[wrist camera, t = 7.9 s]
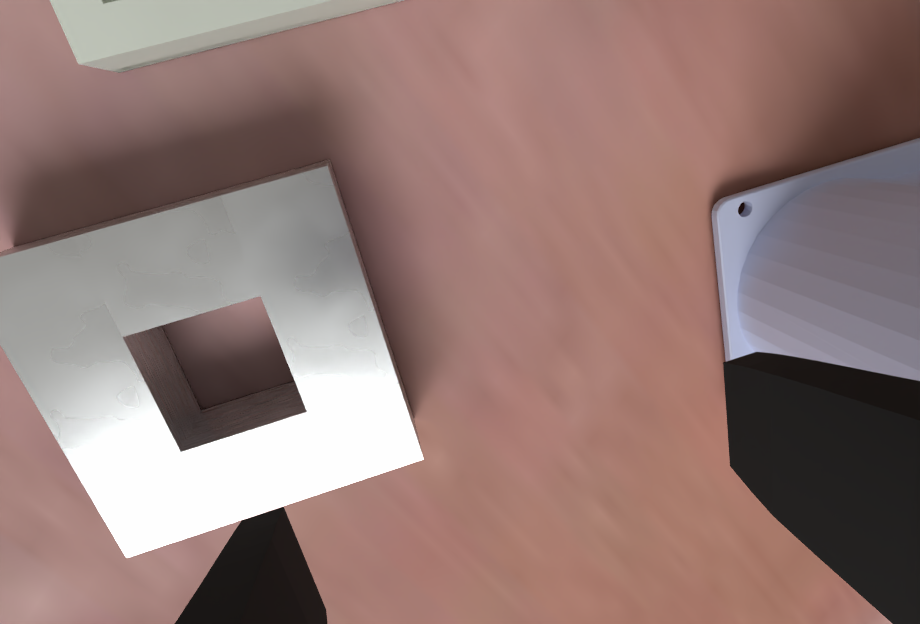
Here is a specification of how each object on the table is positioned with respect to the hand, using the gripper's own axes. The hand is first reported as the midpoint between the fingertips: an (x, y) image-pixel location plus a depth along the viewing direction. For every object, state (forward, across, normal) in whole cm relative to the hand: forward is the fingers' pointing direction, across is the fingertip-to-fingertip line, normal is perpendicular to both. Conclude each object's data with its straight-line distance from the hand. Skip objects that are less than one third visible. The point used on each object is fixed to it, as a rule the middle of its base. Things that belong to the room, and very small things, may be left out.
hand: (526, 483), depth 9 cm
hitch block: (+11, +6, 0) cm, 12 cm away
